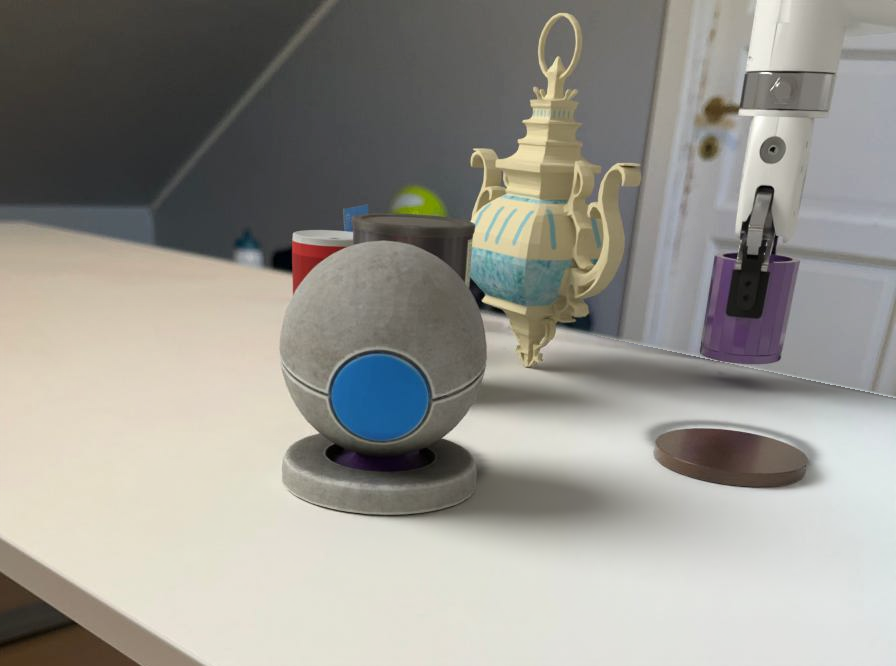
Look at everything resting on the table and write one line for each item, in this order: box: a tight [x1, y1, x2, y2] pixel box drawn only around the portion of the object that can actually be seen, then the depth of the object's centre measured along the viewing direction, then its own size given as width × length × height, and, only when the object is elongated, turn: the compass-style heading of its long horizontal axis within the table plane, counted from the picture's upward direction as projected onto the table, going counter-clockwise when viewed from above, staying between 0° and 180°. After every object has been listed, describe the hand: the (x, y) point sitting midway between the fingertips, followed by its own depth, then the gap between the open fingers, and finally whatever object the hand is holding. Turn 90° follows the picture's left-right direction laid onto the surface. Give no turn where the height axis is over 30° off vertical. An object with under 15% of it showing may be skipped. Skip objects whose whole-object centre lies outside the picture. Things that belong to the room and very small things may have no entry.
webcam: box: [278, 241, 488, 516], centre depth 62 cm, size 13×13×15 cm
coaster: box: [653, 427, 809, 488], centre depth 72 cm, size 11×11×1 cm
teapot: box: [469, 12, 642, 368], centre depth 90 cm, size 24×12×30 cm, turn 29°
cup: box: [699, 251, 801, 365], centre depth 93 cm, size 8×8×9 cm
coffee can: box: [351, 212, 475, 289], centre depth 84 cm, size 10×10×14 cm
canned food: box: [291, 229, 353, 296], centre depth 98 cm, size 8×8×11 cm
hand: (747, 308), depth 93 cm, fingers closed on cup, 7 cm apart
